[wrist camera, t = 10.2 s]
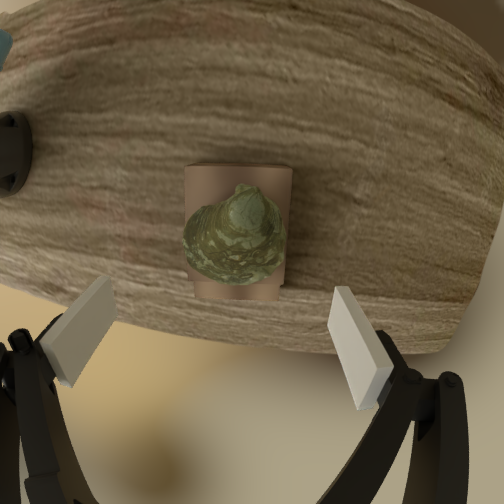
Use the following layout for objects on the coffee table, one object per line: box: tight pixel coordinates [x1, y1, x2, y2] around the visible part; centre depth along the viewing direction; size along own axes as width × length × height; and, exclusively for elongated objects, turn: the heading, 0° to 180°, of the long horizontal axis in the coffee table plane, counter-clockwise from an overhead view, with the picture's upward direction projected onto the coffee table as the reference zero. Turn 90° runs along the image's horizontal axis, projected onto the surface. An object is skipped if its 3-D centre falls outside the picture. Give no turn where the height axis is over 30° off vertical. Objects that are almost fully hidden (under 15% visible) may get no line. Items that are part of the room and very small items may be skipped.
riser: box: [184, 163, 293, 301], centre depth 33 cm, size 11×17×6 cm, turn 178°
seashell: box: [182, 184, 286, 286], centre depth 28 cm, size 10×7×10 cm
